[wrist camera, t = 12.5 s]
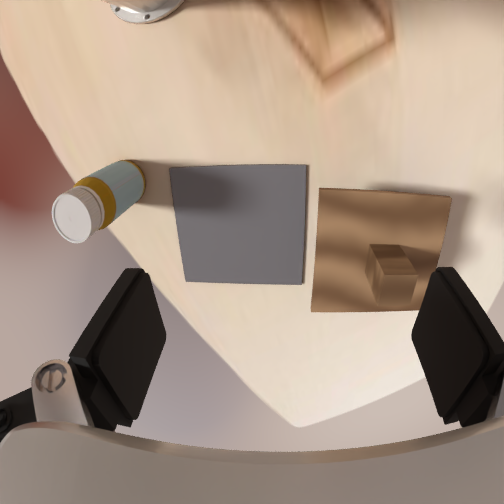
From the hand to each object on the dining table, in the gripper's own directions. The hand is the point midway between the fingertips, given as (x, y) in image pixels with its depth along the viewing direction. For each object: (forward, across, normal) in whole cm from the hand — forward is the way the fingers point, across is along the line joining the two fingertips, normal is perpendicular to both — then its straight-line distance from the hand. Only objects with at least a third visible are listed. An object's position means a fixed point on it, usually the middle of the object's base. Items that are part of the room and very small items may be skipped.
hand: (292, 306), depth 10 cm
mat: (+33, +6, +13) cm, 36 cm away
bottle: (+34, +23, +5) cm, 42 cm away
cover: (+25, -13, +13) cm, 31 cm away
